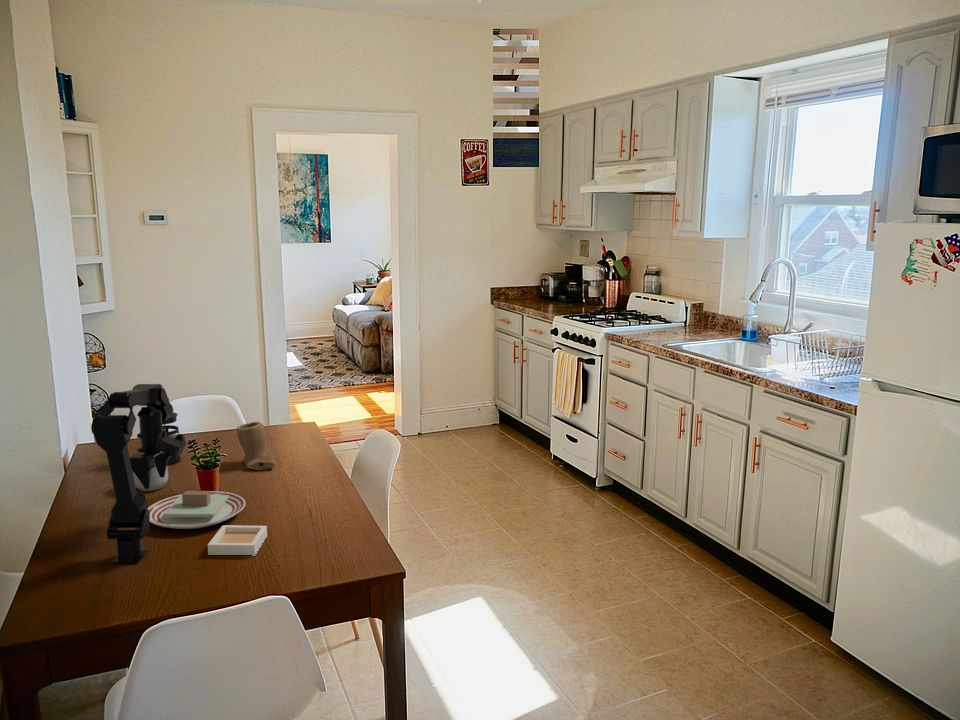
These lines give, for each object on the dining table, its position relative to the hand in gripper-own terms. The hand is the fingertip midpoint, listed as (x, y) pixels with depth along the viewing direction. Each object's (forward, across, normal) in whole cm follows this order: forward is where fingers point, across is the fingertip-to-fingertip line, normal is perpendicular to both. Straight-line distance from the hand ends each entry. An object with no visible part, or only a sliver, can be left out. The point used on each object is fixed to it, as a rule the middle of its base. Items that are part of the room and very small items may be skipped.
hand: (154, 482), depth 205 cm
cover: (+10, +7, -8) cm, 15 cm away
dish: (+13, -11, -27) cm, 32 cm away
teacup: (+12, +30, +15) cm, 35 cm away
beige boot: (+12, +51, -12) cm, 54 cm away
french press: (+12, +52, +20) cm, 57 cm away
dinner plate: (+13, +7, -8) cm, 17 cm away
